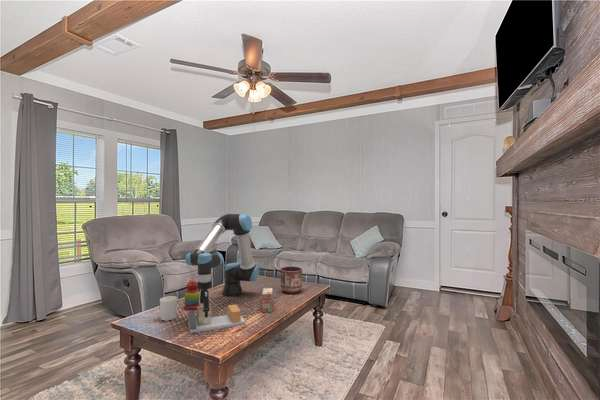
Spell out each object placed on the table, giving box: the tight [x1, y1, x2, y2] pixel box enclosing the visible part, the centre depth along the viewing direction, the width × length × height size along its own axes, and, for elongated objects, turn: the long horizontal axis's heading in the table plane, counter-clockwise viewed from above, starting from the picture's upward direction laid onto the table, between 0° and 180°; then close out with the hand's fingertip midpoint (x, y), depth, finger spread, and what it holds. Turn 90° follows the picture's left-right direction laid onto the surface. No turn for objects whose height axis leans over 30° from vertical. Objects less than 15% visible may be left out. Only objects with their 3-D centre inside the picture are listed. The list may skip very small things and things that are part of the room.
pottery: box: [279, 266, 303, 295], centre depth 237 cm, size 18×18×18 cm
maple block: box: [196, 304, 212, 326], centre depth 172 cm, size 5×7×9 cm
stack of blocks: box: [261, 287, 274, 314], centre depth 203 cm, size 21×6×12 cm, turn 3°
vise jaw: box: [227, 303, 242, 323], centre depth 179 cm, size 12×5×6 cm, turn 25°
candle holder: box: [159, 295, 178, 322], centre depth 182 cm, size 10×10×12 cm
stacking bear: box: [183, 279, 200, 311], centre depth 201 cm, size 11×10×18 cm
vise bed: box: [187, 310, 246, 334], centre depth 175 cm, size 14×30×8 cm, turn 115°
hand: (204, 318), depth 172 cm, fingers open, 13 cm apart
